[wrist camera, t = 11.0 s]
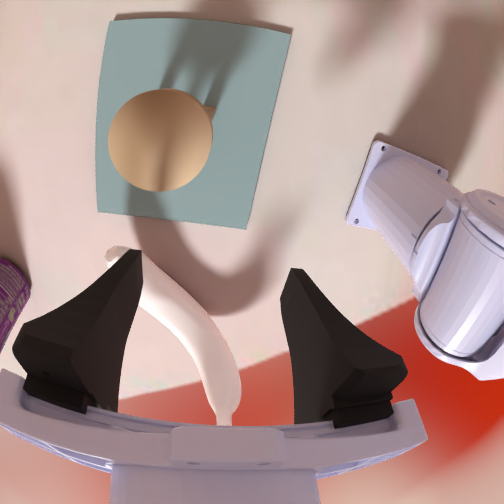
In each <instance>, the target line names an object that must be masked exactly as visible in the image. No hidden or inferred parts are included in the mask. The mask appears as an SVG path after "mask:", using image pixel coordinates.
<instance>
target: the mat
mask: <svg viewBox="0 0 504 504" xmlns="http://www.w3.org/2000/svg"><path fill="white" fill-rule="evenodd" d="M290 38H291V34H287V33H283V32H279V31H274V30H270V29H265V28H260V27H255V26H249V25H243V24H236V23H229V22H221V21H211V20H199V19H180V18H148V19H129V20H117V21H110V22H109V27H108V31H107V36H106V41H105V47H104V53H103V59H102V66H101V73H100V81H99V91H98V102H97V116H96V146H95V161H96V192H97V207H98V212H103V213H112V214H122V215H131V216H140V217H149V218H158V219H166V220H175V221H183V222H191V223H199V224H207V225H215V226H223V227H230V228H238V229H245V230H246V228H247V223H248V219H249V214H250V210H251V205H252V201H253V196H254V192H255V187H256V183H257V179H258V174H259V170H260V165H261V161H262V157H263V152H264V148H265V143H266V139H267V135H268V130H269V126H270V122H271V118H272V113H273V109H274V105H275V101H276V96H277V92H278V88H279V84H280V79H281V75H282V71H283V67H284V63H285V59H286V54H287V50H288V46H289V42H290ZM165 88H170V89H177V90H181V91H184V92H187V93H189V94H191V95H192V96H194V97H195V98H196V99H198V100H199V101H200V102H201V103H202V104H203V105H207V106H212V107H216V110H215V113H214V117H213V120H212V126H213V141H212V146H211V149H210V153H209V156H208V159H207V161H206V163H205V165H204V167H203V168H202V170H201V171H200V172H199V174H198V175H197V176H196V177H195V178H194V179H193V180H191V181H190V182H189V183H187V184H185V185H184V186H182V187H180V188H177V189H174V190H170V191H164V192H154V191H148V190H144V189H141V188H138V187H136V186H134V185H132V184H131V183H129V182H128V181H127V180H125V179H124V178H123V177H122V176H121V175H120V173H119V172H118V171H117V169H116V168H115V166H114V164H113V162H112V160H111V157H110V154H109V149H108V134H109V129H110V126H111V123H112V121H113V119H114V117H115V115H116V113H117V112H118V111H119V109H120V108H121V107H122V106H123V105H124V104H125V103H126V102H127V101H129V100H130V99H131V98H133V97H135V96H137V95H139V94H141V93H144V92H147V91H151V90H157V89H165Z"/></svg>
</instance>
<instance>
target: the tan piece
mask: <svg viewBox="0 0 504 504" xmlns="http://www.w3.org/2000/svg"><path fill="white" fill-rule="evenodd" d="M215 110H216V107H212V106H207V105H203V104H202V103H201V102H200V101H199V100H198V99H196V98H195V97H194V96H192V95H191V94H189V93H187V92H184V91H181V90H177V89H170V88H165V89H157V90H151V91H147V92H144V93H141V94H139V95H137V96H135V97H133V98H131V99H130V100H129V101H127V102H126V103H125V104H124V105H123V106H122V107H121V108H120V109H119V111H118V112H117V113H116V115H115V117H114V119H113V121H112V123H111V126H110V129H109V134H108V149H109V154H110V157H111V160H112V162H113V164H114V166H115V168H116V169H117V171H118V172H119V173H120V175H121V176H122V177H123V178H124V179H125V180H127V181H128V182H129V183H131V184H132V185H134V186H136V187H138V188H141V189H144V190H148V191H154V192H164V191H170V190H174V189H177V188H180V187H182V186H184V185H185V184H187V183H189V182H190V181H191V180H193V179H194V178H195V177H196V176H197V175H198V174H199V172H200V171H201V170H202V168H203V167H204V165H205V163H206V161H207V159H208V156H209V153H210V149H211V146H212V141H213V126H212V120H213V117H214V113H215Z"/></svg>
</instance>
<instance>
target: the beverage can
mask: <svg viewBox="0 0 504 504" xmlns="http://www.w3.org/2000/svg"><path fill="white" fill-rule="evenodd" d="M29 298H30V288H29V285H28V283H27V281H26V279H25V277H24V276H23V274H22V273H21V272H20V270H19V269H18V268H17V267H16V266H14V265H13V264H12V263H10V262H9V261H7V260H5V259H1V258H0V353H1V351H2V349H3V347H4V345H5V343H6V341H7V338H8V336H9V334H10V332H11V330H12V329H13V327H14V325H15V323H16V321H17V319H18V317H19V315H20V314H21V312H22V310H23V308H24V306H25V305H26V303H27V301H28V299H29Z"/></svg>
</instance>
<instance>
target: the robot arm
mask: <svg viewBox="0 0 504 504" xmlns="http://www.w3.org/2000/svg"><path fill="white" fill-rule="evenodd" d="M382 146H384V150H381V148H382ZM438 170H439V171H438ZM437 171H438V172H437ZM448 174H449V173H448V171H447V170H446V169H444V168H442V167H440V166H438V165H436V164H434V163H432V162H430V161H427V160H425V159H423V158H421V157H419V156H416V155H414V154H412V153H409V152H407V151H405V150H402V149H400V148H397V147H395V146H392V145H390V144H387V143H385V142H382V141H379V140H376V141H374V142H373V144H372V147H371V150H370V153H369V156H368V159H367V161H366V164H365V167H364V170H363V173H362V176H361V179H360V181H359V184H358V187H357V190H356V192H355V195H354V198H353V200H352V203H351V206H350V208H349V211H348V213H347V216H346V222H347V223H348V224H349V225H353V226H358V227H363V228H368V229H373V230H377V231H378V232H379V233H380V234H381V236H382V237H383V238H384V240H385V241H386V242H387V244H388V245H389V246H390V248H391V249H392V250H393V252H394V253H395V254H396V256H397V257H398V258H399V260H400V261H401V263H402V264H403V265H404V267H405V268H406V270H407V271H408V273H409V274H410V275H411V277H412V278H413V280H414V287H413V290H412V292H413V293H414V295H415V296H416V298H417V300H418V301H419V305H418V307H417V309H416V311H415V316H414V323H415V328H416V331H417V334H418V336H419V338H420V340H421V342H422V343H423V344H424V346H425V347H426V348H427V349H428V350H429V351H430V352H431V353H432V354H433V355H435V356H436V357H437V358H439V359H440V360H442V361H444V362H447V363H450V364H453V365H457V366H460V367H463V368H464V369H466V370H468V371H469V372H470V373H472V374H473V375H474V376H475V377H476V378H478V379H479V380H493V379H500V378H504V197H502V196H500V195H498V194H495V193H493V192H490V191H486V190H482V189H477V190H474V191H472V192H467V193H465V194H463V193H462V192H461V191H459V190H458V189H457V188H455V187H454V186H452V185H451V184H450V183H448V182H447V181H446V180H447V178H448ZM355 219H358V220H357V221H356V222H354V220H355ZM142 287H143V269H142V250H134V249H129V250H128V251H127V252H126V253H125V254H124V255H123V256H122V257H120V258H119V259H118V260H117V261H116V262H115V263H114V264H113V265H112V266H111V267H110V268H109V269H108V270H107V271H106V272H105V273H104V274H103V275H102V276H101V277H100V278H98V279H97V280H96V281H95V282H94V283H93V284H92V285H90V286H89V287H88V288H87V289H85V290H84V291H83V292H81V293H80V294H79V295H77V296H76V297H74V298H73V299H71V300H70V301H68V302H66V303H65V304H63V305H62V306H60V307H58V308H57V309H55V310H53V311H51V312H49V313H47V314H45V315H43V316H41V317H38V318H36V319H34V320H31V321H29V322H26V323H24V324H23V326H22V328H21V330H20V332H19V334H18V336H17V338H16V340H15V342H14V344H13V347H12V351H13V354H14V356H15V358H16V359H17V361H18V362H19V363H20V365H21V366H22V367H23V369H24V370H25V371H26V373H27V377H26V380H25V379H24V378H23V377H21V376H19V375H17V374H15V373H12V372H10V371H8V370H6V369H2V370H1V372H0V425H1V426H2V427H4V428H5V429H6V430H8V431H9V432H11V433H12V434H13V435H15V436H17V437H19V438H21V439H23V440H25V441H27V442H29V443H31V444H34V445H35V446H38V447H40V448H42V449H44V450H47V451H49V452H51V453H54V454H56V455H58V456H61V457H63V458H66V459H69V460H71V461H74V462H77V463H79V464H82V465H86V466H88V467H92V468H95V469H98V470H101V471H104V472H108V473H111V485H110V502H109V503H110V504H320V498H319V492H318V486H317V480H316V479H321V478H324V477H329V476H334V475H338V474H341V473H346V472H349V471H353V470H356V469H360V468H363V467H366V466H370V465H373V464H376V463H379V462H382V461H385V460H388V459H391V458H394V457H397V456H399V455H401V454H403V453H405V452H407V451H408V450H410V449H412V448H414V447H416V446H418V445H419V444H421V443H423V442H425V441H427V439H428V438H427V435H426V432H425V429H424V426H423V423H422V420H421V417H420V415H419V412H418V409H417V406H416V404H415V401H414V399H409V400H406V401H401V402H398V403H395V404H393V405H391V403H390V400H391V399H392V398H393V396H392V393H391V391H392V390H394V388H396V387H397V386H398V385H399V384H400V383H401V382H402V381H403V380H404V379H405V377H406V376H407V373H408V370H407V368H406V366H405V363H404V361H403V359H402V357H401V356H400V355H398V354H396V353H394V352H393V351H391V350H389V349H387V348H385V347H384V346H382V345H380V344H379V343H377V342H376V341H374V340H373V339H371V338H370V337H368V336H367V335H366V334H364V333H363V332H362V331H360V330H359V329H358V328H357V327H356V326H354V325H353V324H352V323H351V322H350V321H349V320H348V319H347V318H345V317H344V316H343V315H342V314H341V313H340V312H339V311H338V310H337V309H336V308H335V307H334V305H333V304H332V303H331V302H330V301H329V300H328V299H327V298H326V297H325V295H324V294H323V293H322V292H321V291H320V289H319V288H318V287H317V286H316V285H315V283H314V282H313V281H312V280H311V278H310V277H309V276H308V275H307V274H306V272H305V271H304V270H303V269H297V268H291V270H290V272H289V275H288V278H287V281H286V283H285V286H284V289H283V292H282V294H281V297H280V302H281V314H282V320H283V324H284V329H285V333H286V337H287V342H288V346H289V351H290V356H291V363H292V373H293V386H294V409H295V410H294V425H278V426H217V425H215V426H214V425H200V424H188V423H178V422H170V421H162V420H155V419H148V418H141V417H137V416H131V415H126V414H120V413H117V412H118V395H119V385H120V376H121V369H122V362H123V356H124V350H125V345H126V341H127V337H128V334H129V331H130V328H131V325H132V322H133V319H134V316H135V313H136V310H137V307H138V304H139V301H140V297H141V292H142Z"/></svg>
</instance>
